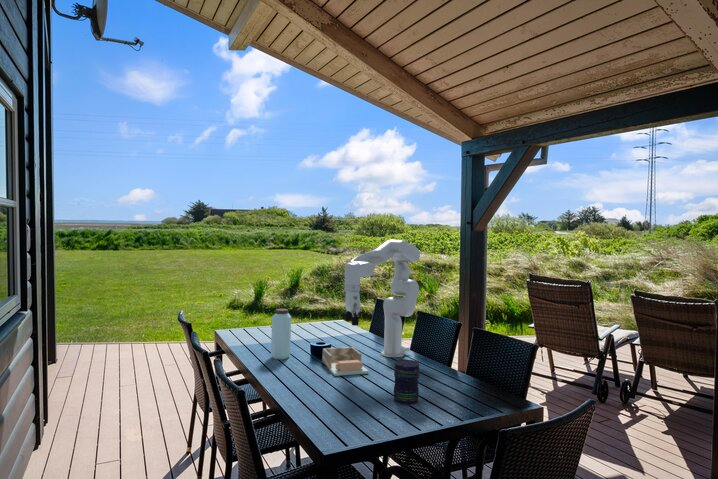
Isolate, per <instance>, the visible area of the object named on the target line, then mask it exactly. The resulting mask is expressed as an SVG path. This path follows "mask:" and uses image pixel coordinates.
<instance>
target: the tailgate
mask: <svg viewBox="0 0 718 479" xmlns="http://www.w3.org/2000/svg"><path fill="white" fill-rule="evenodd" d="M329 371H330V373H331V374H332V375H333V376H335V377H336V376H337V377H338V376H352V375H364V374H365V375H366V374H367V375H368V374H369V370H368V369H367V368H366V367H364V366H363V367H362V368H361V370H356V371H343V372H340V371H339V370H337V369H336V368H330V370H329Z"/></svg>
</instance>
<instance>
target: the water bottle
mask: <svg viewBox="0 0 718 479" xmlns="http://www.w3.org/2000/svg"><path fill="white" fill-rule="evenodd" d="M274 311H275V313H274V314H273V316H271V337H270V338H271V340H270V342H271V344H270V346H271V347H270V356H271V358H272V359H275V360H287V359H288V358H289V357H290V355H291V343H292V342H291V339H292V338H291V336H292V315H291V314H290V313H289V309H287V308H276V309H275V310H274Z"/></svg>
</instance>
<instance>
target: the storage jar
mask: <svg viewBox="0 0 718 479" xmlns="http://www.w3.org/2000/svg"><path fill="white" fill-rule="evenodd" d="M401 358H405V355H404V356H402V357H401ZM393 371H394V373H393V376H394V386H393V401H394V402H395V404H398V405H400V406H414V405H418V403H419V396H420V393H419V392H420V391H419V378H420V362H419V361H417V360H413V359H398V360H395V361H394V369H393Z"/></svg>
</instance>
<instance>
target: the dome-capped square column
mask: <svg viewBox="0 0 718 479" xmlns="http://www.w3.org/2000/svg"><path fill="white" fill-rule="evenodd" d="M335 367H336V369H337V370H339V371H340V372H343V371H356V370H361V368H362V367H364V364H363V362H362V361H361V362H360V361H359V360H348V361H338V363H337V364H336V366H335Z"/></svg>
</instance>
